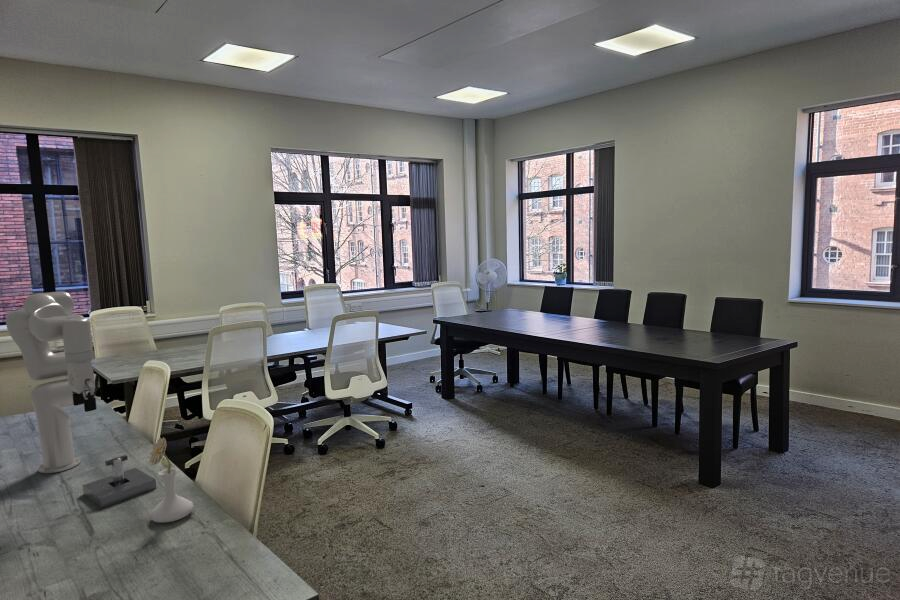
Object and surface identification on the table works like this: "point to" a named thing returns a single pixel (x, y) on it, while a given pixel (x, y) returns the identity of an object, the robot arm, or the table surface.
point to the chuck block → (119, 488)
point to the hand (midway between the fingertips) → (85, 407)
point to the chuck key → (117, 469)
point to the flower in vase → (168, 489)
